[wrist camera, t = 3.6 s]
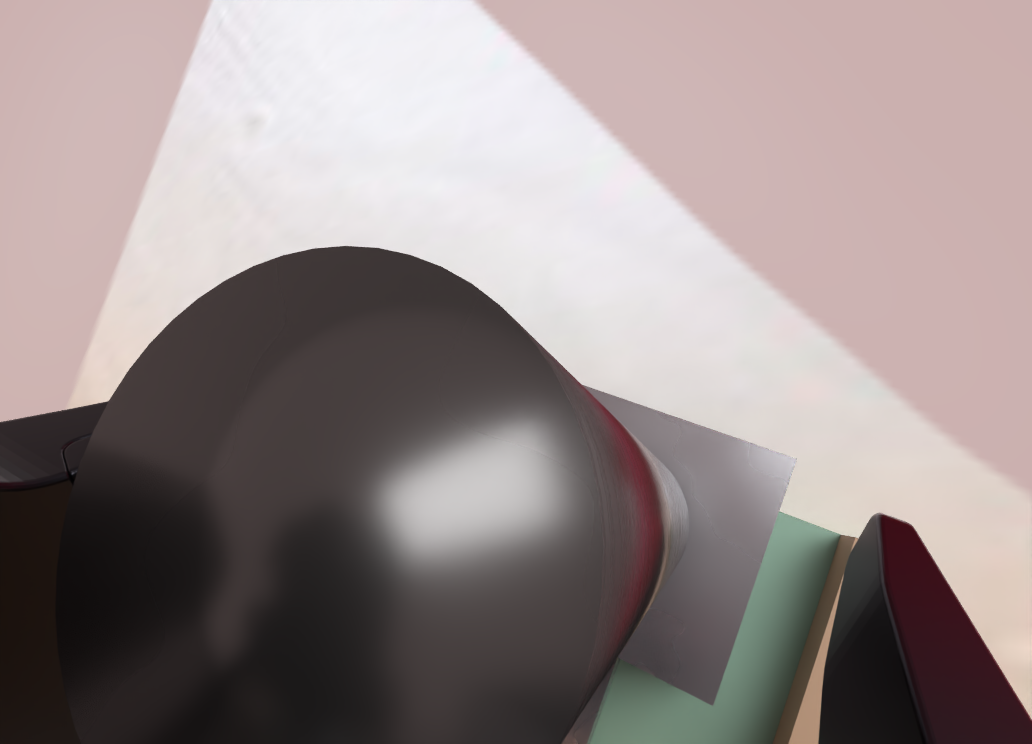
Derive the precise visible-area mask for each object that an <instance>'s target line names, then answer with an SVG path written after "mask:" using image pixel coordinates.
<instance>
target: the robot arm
mask: <svg viewBox="0 0 1032 744" xmlns="http://www.w3.org/2000/svg"><path fill="white" fill-rule="evenodd" d="M108 402H109V401H108ZM108 402H103V403H98V404H93V405H88V406H83V407H78V408H73V409H68V410H62V411H57V412H52V413H46V414H41V415H36V416H31V417H25V418H20V419H15V420H9V421H4V422H0V744H81V742H80V739H79V737H78V734H77V732H76V729H75V727H74V723H73V719H72V716H71V712H70V708H69V705H68V701H67V697H66V694H65V690H64V685H63V679H62V673H61V667H60V661H59V655H58V646H57V631H56V616H55V603H56V573H57V564H58V556H59V548H60V539H61V533H62V529H63V524H64V519H65V515H66V510H67V505H68V501H69V497H70V494H71V491H72V487H73V484H74V481H75V478H76V474H77V471H78V468H79V465H80V462H81V460H82V458H83V455H84V453H85V450H86V448H87V445H88V443H89V440H90V438H91V435H92V433H93V431H94V429H95V427H96V425H97V423H98V421H99V419H100V417H101V415H102V414H103V412H104V410H105V408H106V406H107V404H108ZM818 744H1032V719H1031V718H1030V716H1029V714H1028V713H1027V711H1026V710H1025V708H1024V706H1023V705H1022V703H1021V701H1020V700H1019V698H1018V696H1017V695H1016V693H1015V692H1014V690H1013V688H1012V687H1011V685H1010V683H1009V682H1008V680H1007V679H1006V677H1005V675H1004V674H1003V672H1002V670H1001V669H1000V667H999V665H998V664H997V662H996V661H995V659H994V657H993V656H992V654H991V652H990V651H989V649H988V648H987V646H986V644H985V643H984V641H983V639H982V638H981V636H980V634H979V633H978V631H977V630H976V628H975V626H974V625H973V623H972V621H971V620H970V618H969V616H968V615H967V613H966V612H965V610H964V608H963V607H962V605H961V603H960V602H959V600H958V599H957V597H956V595H955V594H954V592H953V590H952V589H951V587H950V585H949V584H948V582H947V581H946V579H945V577H944V576H943V574H942V572H941V571H940V569H939V567H938V566H937V564H936V563H935V561H934V559H933V558H932V556H931V554H930V553H929V551H928V550H927V548H926V546H925V545H924V543H923V541H922V540H921V538H920V536H919V535H918V533H917V532H916V530H915V529H914V527H913V526H912V525H911V524H909V523H907V522H905V521H902V520H899V519H896V518H894V517H891V516H888V515H885V514H882V513H877V514H875V515H873V516H872V517H871V519H870V520H869V522H868V524H867V525H866V527H865V529H864V530H863V532H862V534H861V535H860V537H859V539H858V541H857V542H856V544H855V546H854V547H853V549H852V551H851V553H850V555H849V558H848V560H847V563H846V567H845V571H844V576H843V581H842V585H841V590H840V595H839V599H838V604H837V609H836V613H835V618H834V623H833V627H832V632H831V637H830V642H829V646H828V651H827V656H826V662H825V667H824V675H823V685H822V698H821V712H820V726H819V740H818Z"/></svg>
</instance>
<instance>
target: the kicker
mask: <svg viewBox="0 0 1032 744" xmlns="http://www.w3.org/2000/svg"><path fill="white" fill-rule="evenodd" d="M796 460H797V459H796V458H793V457H790V456H787V455H784V454H782V453H779V452H776V451H773V450H770V449H767V448H764V447H761V446H758V445H755V444H752V443H750V442H747V441H744V440H741V439H738V438H735V437H732V436H729V435H726V434H723V433H720V432H718V431H715V430H712V429H709V428H706V427H703V426H700V425H697V424H694V423H691V422H688V421H686V420H683V419H680V418H677V417H674V416H671V415H668V414H665V413H662V412H659V411H656V410H654V409H651V408H648V407H645V406H642V405H639V404H636V403H633V402H630V401H627V400H624V399H622V398H619V397H616V396H613V395H610V394H607V393H604V392H601V391H598V390H595V389H592V388H590V387H587V386H584V385H581V384H580V383H579V382H578V381H577V380H576V379H575V378H574V377H573V376H572V375H571V374H570V373H569V372H568V371H567V370H566V369H565V368H564V367H563V366H562V365H561V364H560V363H559V362H558V361H557V360H556V359H555V358H554V357H553V356H551V355H550V354H549V353H548V352H547V351H546V350H545V349H544V348H543V347H542V346H541V345H540V344H539V343H538V342H537V341H536V340H535V339H534V338H533V337H532V336H531V335H530V334H529V333H528V332H527V331H526V330H525V329H524V328H523V327H522V326H521V325H520V324H519V323H518V322H517V321H516V320H514V319H513V318H512V317H511V316H510V315H509V314H508V313H507V312H506V311H505V310H504V309H503V308H502V307H501V306H500V305H499V304H497V303H496V302H495V301H493V300H492V299H491V298H489V297H488V296H487V295H486V294H484V293H483V292H482V291H480V290H479V289H478V288H477V287H475V286H474V285H473V284H471V283H469V282H468V281H466V280H464V279H462V278H461V277H459V276H457V275H455V274H453V273H452V272H450V271H448V270H446V269H444V268H443V267H441V266H438V265H435V264H433V263H430V262H427V261H425V260H422V259H419V258H417V257H414V256H411V255H408V254H403V253H399V252H394V251H389V250H384V249H380V248H369V247H352V246H340V247H328V248H316V249H310V250H306V251H301V252H297V253H292V254H288V255H283V256H280V257H278V258H275V259H272V260H269V261H267V262H264V263H261V264H258V265H256V266H253V267H251V268H249V269H247V270H245V271H243V272H241V273H239V274H237V275H235V276H233V277H231V278H230V279H228V280H226V281H224V282H222V283H221V284H219V285H218V286H216V287H215V288H213V289H212V290H210V291H209V292H207V293H206V294H204V295H203V296H201V297H200V298H198V299H197V300H196V301H195V302H194V303H192V304H191V305H190V306H189V307H188V308H186V309H185V310H184V311H183V312H182V313H180V314H179V315H178V316H177V317H176V318H175V319H173V320H172V321H171V322H170V323H169V324H168V325H167V326H166V327H165V328H164V330H163V331H162V332H161V333H160V334H159V335H158V336H157V337H156V338H155V339H154V340H153V341H152V342H151V343H150V344H149V345H148V347H147V348H146V349H145V350H144V352H143V353H142V354H141V355H140V357H139V358H138V359H137V361H136V362H135V363H134V364H133V366H132V367H131V368H130V369H129V371H128V372H127V374H126V375H125V377H124V378H123V380H122V381H121V383H120V385H119V386H118V388H117V389H116V391H115V392H114V394H113V395H112V397H111V399H110V400H109V402H108V404H107V406H106V408H105V410H104V412H103V414H102V415H101V417H100V419H99V421H98V423H97V425H96V427H95V429H94V431H93V433H92V435H91V438H90V440H89V443H88V445H87V448H86V450H85V453H84V455H83V458H82V460H81V462H80V465H79V468H78V471H77V474H76V478H75V481H74V484H73V487H72V491H71V494H70V497H69V501H68V505H67V510H66V515H65V519H64V524H63V529H62V533H61V539H60V548H59V556H58V564H57V573H56V603H55V616H56V631H57V646H58V655H59V661H60V667H61V673H62V679H63V685H64V690H65V694H66V697H67V701H68V705H69V708H70V712H71V716H72V719H73V723H74V727H75V729H76V732H77V734H78V737H79V739H80V742H81V744H590V742H591V739H592V737H593V734H594V731H595V728H596V725H597V723H598V720H599V717H600V714H601V711H602V709H603V706H604V703H605V700H606V697H607V695H608V692H609V689H610V686H611V683H612V681H613V678H614V675H615V672H616V669H617V667H618V664H619V661H620V659H621V660H623V661H625V662H627V663H629V664H631V665H633V666H635V667H637V668H639V669H641V670H643V671H645V672H647V673H649V674H651V675H653V676H655V677H657V678H659V679H661V680H663V681H664V682H666V683H668V684H670V685H672V686H674V687H676V688H678V689H680V690H682V691H684V692H686V693H688V694H690V695H692V696H694V697H696V698H698V699H700V700H702V701H704V702H706V703H708V704H710V705H712V706H713V705H714V702H715V699H716V696H717V693H718V690H719V687H720V684H721V681H722V678H723V675H724V672H725V669H726V666H727V663H728V661H729V658H730V655H731V652H732V649H733V646H734V643H735V640H736V637H737V634H738V631H739V628H740V625H741V622H742V619H743V616H744V613H745V610H746V607H747V604H748V602H749V599H750V596H751V593H752V590H753V587H754V584H755V581H756V578H757V575H758V572H759V569H760V566H761V563H762V560H763V557H764V554H765V551H766V548H767V546H768V543H769V540H770V537H771V534H772V531H773V528H774V525H775V522H776V519H777V516H778V513H779V510H780V507H781V504H782V501H783V498H784V495H785V492H786V489H787V487H788V484H789V481H790V478H791V475H792V472H793V469H794V466H795V463H796Z"/></svg>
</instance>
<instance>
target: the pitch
mask: <svg viewBox="0 0 1032 744" xmlns="http://www.w3.org/2000/svg"><path fill="white" fill-rule="evenodd" d="M857 541H858V538H856V537H850V536H845V535H840V534H837V533H835V532H832V531H829V530H827V529H824V528H821V527H819V526H816V525H814V524H811V523H808V522H806V521H803V520H800V519H798V518H795V517H792V516H790V515H787V514H784V513H782V512H779V513H778V516H777V519H776V522H775V525H774V528H773V531H772V534H771V537H770V540H769V543H768V546H767V548H766V551H765V554H764V557H763V560H762V563H761V566H760V569H759V572H758V575H757V578H756V581H755V584H754V587H753V590H752V593H751V596H750V599H749V602H748V604H747V607H746V610H745V613H744V616H743V619H742V622H741V625H740V628H739V631H738V634H737V637H736V640H735V643H734V646H733V649H732V652H731V655H730V658H729V661H728V663H727V666H726V669H725V672H724V675H723V678H722V681H721V684H720V687H719V690H718V693H717V696H716V699H715V702H714V705H713V706H712V705H710V704H708V703H706V702H704V701H702V700H700V699H698V698H696V697H694V696H692V695H690V694H688V693H686V692H684V691H682V690H680V689H678V688H676V687H674V686H672V685H670V684H668V683H666V682H664V681H663V680H661V679H659V678H657V677H655V676H653V675H651V674H649V673H647V672H645V671H643V670H641V669H639V668H637V667H635V666H633V665H631V664H629V663H627V662H625V661H623V660H621V659H620V661H619V664H618V667H617V669H616V672H615V675H614V678H613V681H612V683H611V686H610V689H609V692H608V695H607V697H606V700H605V703H604V706H603V709H602V711H601V714H600V717H599V720H598V723H597V725H596V728H595V731H594V734H593V737H592V739H591V742H590V744H818V740H819V726H820V712H821V698H822V685H823V675H824V667H825V662H826V656H827V651H828V646H829V642H830V637H831V632H832V627H833V623H834V618H835V613H836V609H837V604H838V599H839V595H840V590H841V585H842V581H843V576H844V571H845V567H846V563H847V560H848V558H849V555H850V553H851V551H852V549H853V547H854V546H855V544H856V542H857Z"/></svg>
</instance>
